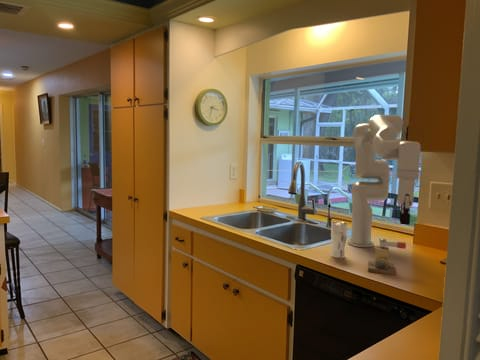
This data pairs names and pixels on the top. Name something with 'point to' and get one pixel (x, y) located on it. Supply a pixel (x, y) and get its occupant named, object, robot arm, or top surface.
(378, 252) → the valve
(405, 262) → the top surface
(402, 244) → the valve lever
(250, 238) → the top surface
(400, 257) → the top surface
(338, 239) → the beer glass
